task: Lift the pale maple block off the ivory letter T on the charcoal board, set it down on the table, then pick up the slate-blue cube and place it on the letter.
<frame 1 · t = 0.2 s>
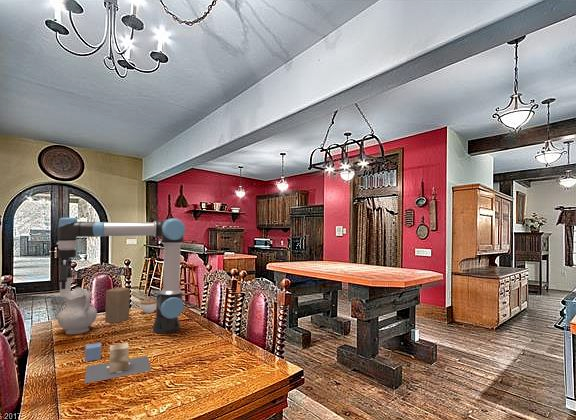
hand: (65, 293, 161), 28 cm above the table, tool pointing down, fingers open, 13 cm apart
ceramic pitcher: (78, 332, 191), on the table
blue cube: (93, 359, 151), on the table
wooden block: (117, 320, 213), on the table
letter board: (118, 369, 140), on the table
lidded jar: (148, 312, 234), on the table
maple block: (118, 368, 140), resting on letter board
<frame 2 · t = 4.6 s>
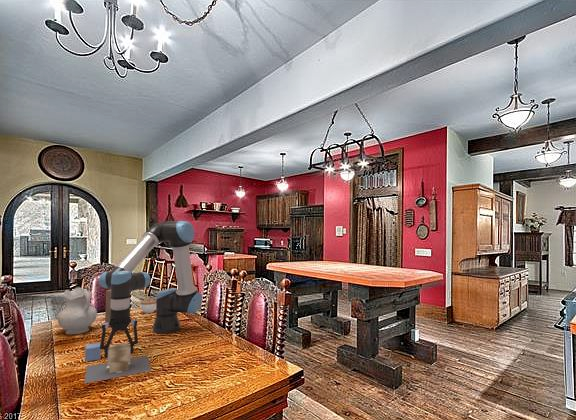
hand: (118, 363, 140), 3 cm above the table, tool pointing down, fingers closed on maple block, 7 cm apart
maple block: (118, 368, 140), resting on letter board, touching gripper
everything else where it was.
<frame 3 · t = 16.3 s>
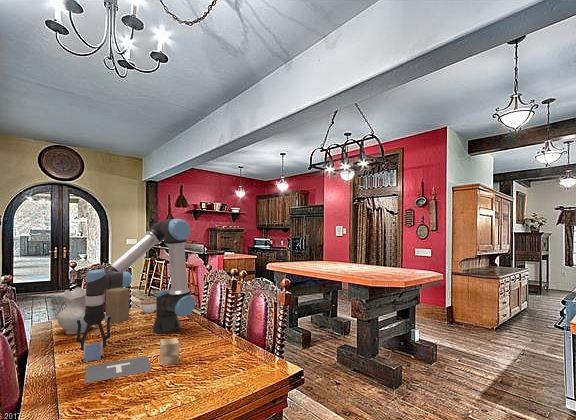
hand: (93, 355, 151), 1 cm above the table, tool pointing down, fingers closed on blue cube, 6 cm apart
blue cube: (93, 359, 151), on the table, touching gripper
maple block: (169, 362, 147), on the table
everything else where it was.
when the fingers open (3 cm above the table, at t = 22.6 s): blue cube drops 1 cm, resting on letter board.
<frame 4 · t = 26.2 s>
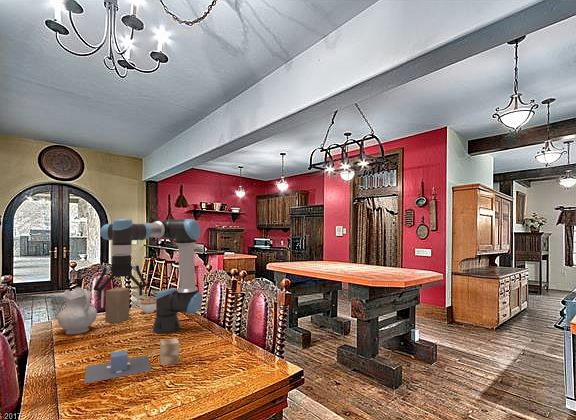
hand: (120, 305, 141), 27 cm above the table, tool pointing down, fingers open, 13 cm apart
blue cube: (118, 368, 140), resting on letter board
everything else where it was.
at the end: blue cube inside the target area on the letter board (0.0 cm from its centre), point 0.4 cm above the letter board's base; blue cube tilted 0°; maple block touching table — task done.
